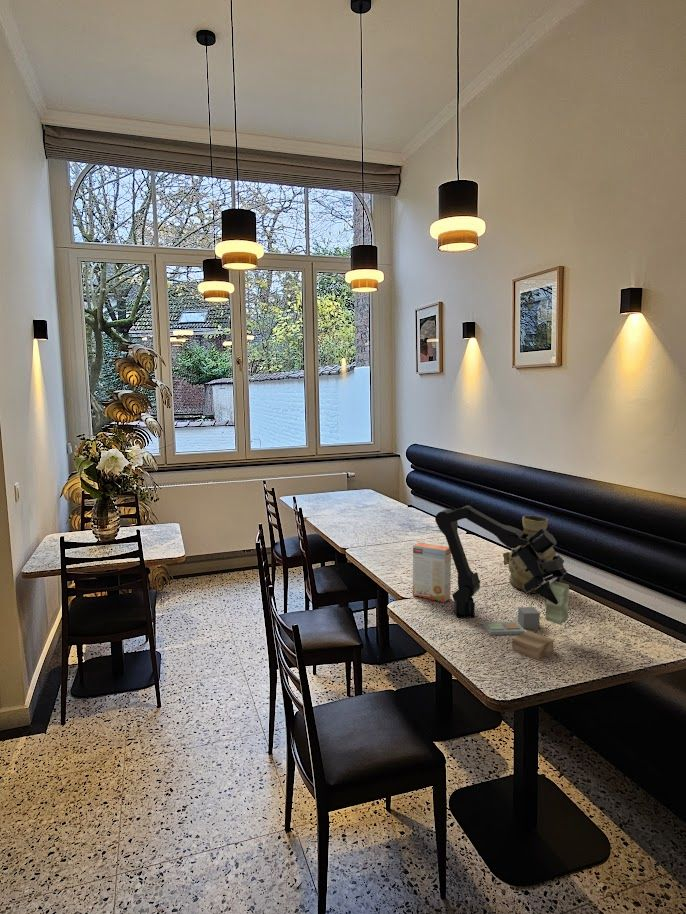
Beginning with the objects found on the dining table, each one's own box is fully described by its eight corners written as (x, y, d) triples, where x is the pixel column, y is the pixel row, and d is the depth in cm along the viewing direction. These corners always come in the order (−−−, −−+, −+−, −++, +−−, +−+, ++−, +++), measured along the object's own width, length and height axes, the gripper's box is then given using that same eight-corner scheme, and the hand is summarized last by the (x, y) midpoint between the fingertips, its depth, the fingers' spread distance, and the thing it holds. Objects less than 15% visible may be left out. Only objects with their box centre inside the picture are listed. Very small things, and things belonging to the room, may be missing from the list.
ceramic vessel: (502, 578, 254) (504, 510, 250) (554, 582, 248) (557, 513, 244) (501, 593, 236) (503, 520, 232) (557, 598, 229) (560, 523, 226)
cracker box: (450, 598, 230) (452, 546, 227) (444, 603, 225) (445, 550, 222) (418, 591, 238) (419, 541, 235) (411, 596, 233) (412, 544, 230)
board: (489, 634, 196) (489, 631, 196) (482, 625, 204) (482, 621, 204) (524, 633, 197) (524, 630, 197) (516, 624, 205) (516, 620, 205)
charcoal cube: (523, 628, 202) (524, 613, 201) (517, 622, 207) (518, 607, 206) (539, 628, 202) (539, 613, 201) (533, 621, 207) (533, 607, 207)
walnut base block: (537, 660, 179) (538, 648, 178) (512, 650, 186) (512, 638, 185) (553, 651, 185) (553, 639, 184) (527, 642, 192) (528, 630, 191)
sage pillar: (559, 624, 190) (561, 588, 188) (545, 619, 193) (547, 584, 192) (567, 620, 193) (569, 585, 191) (553, 615, 197) (555, 581, 195)
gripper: (532, 553, 187) (563, 596, 180) (563, 543, 199) (592, 583, 192) (510, 571, 194) (539, 613, 187) (541, 560, 206) (569, 599, 199)
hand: (561, 601), depth 191 cm, fingers closed on sage pillar, 5 cm apart
